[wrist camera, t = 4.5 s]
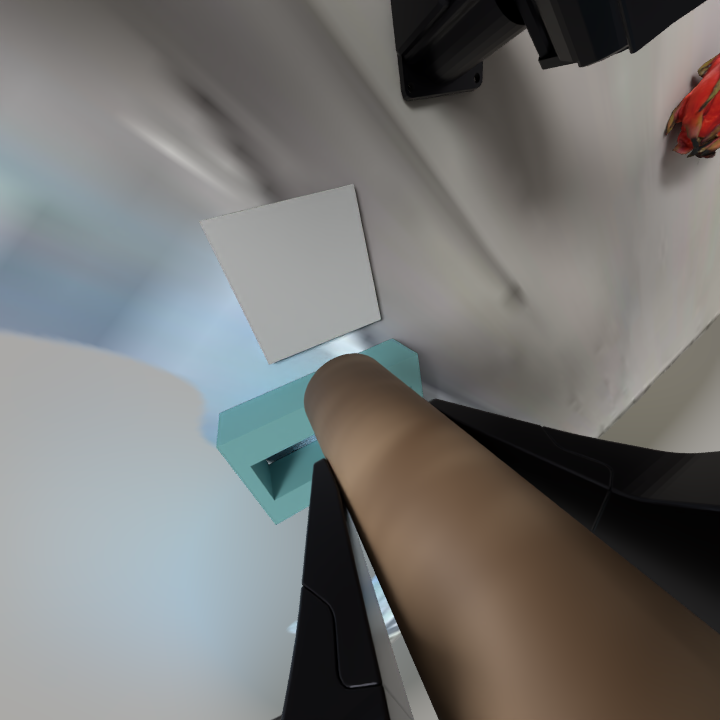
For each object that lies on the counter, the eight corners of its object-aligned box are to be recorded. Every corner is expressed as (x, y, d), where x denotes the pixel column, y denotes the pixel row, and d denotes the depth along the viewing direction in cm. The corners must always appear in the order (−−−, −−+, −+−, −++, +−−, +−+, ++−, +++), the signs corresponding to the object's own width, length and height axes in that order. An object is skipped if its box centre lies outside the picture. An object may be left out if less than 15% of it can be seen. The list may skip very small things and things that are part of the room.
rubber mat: (350, 185, 18) (353, 183, 17) (378, 317, 23) (380, 319, 22) (199, 221, 15) (198, 221, 15) (268, 362, 20) (269, 364, 20)
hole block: (392, 338, 24) (417, 353, 21) (406, 415, 29) (428, 437, 26) (219, 413, 20) (216, 447, 17) (270, 487, 25) (276, 524, 22)
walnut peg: (378, 339, 11) (828, 627, 3) (392, 408, 13) (679, 699, 5) (289, 376, 10) (581, 1052, 2) (320, 446, 12) (523, 913, 4)
